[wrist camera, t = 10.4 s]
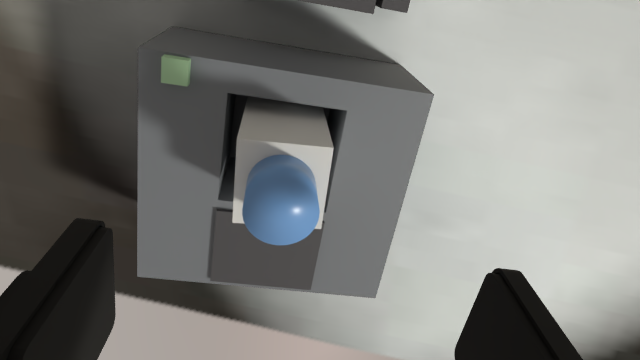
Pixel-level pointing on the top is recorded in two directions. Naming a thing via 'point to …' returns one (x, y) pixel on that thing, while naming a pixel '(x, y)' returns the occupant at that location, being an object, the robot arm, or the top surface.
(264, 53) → the port
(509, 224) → the top surface
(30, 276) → the robot arm
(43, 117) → the top surface
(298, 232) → the plug
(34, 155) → the top surface
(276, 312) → the top surface
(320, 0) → the grey u-shaped cradle
